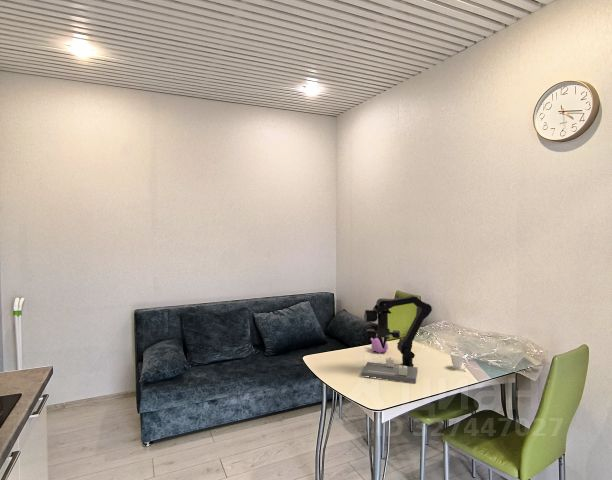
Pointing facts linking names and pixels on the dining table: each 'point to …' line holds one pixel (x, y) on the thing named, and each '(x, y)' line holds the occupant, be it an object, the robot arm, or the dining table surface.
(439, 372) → the dining table surface
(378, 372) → the console
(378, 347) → the teapot
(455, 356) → the cup
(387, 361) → the block
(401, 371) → the sage fader
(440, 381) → the dining table surface
